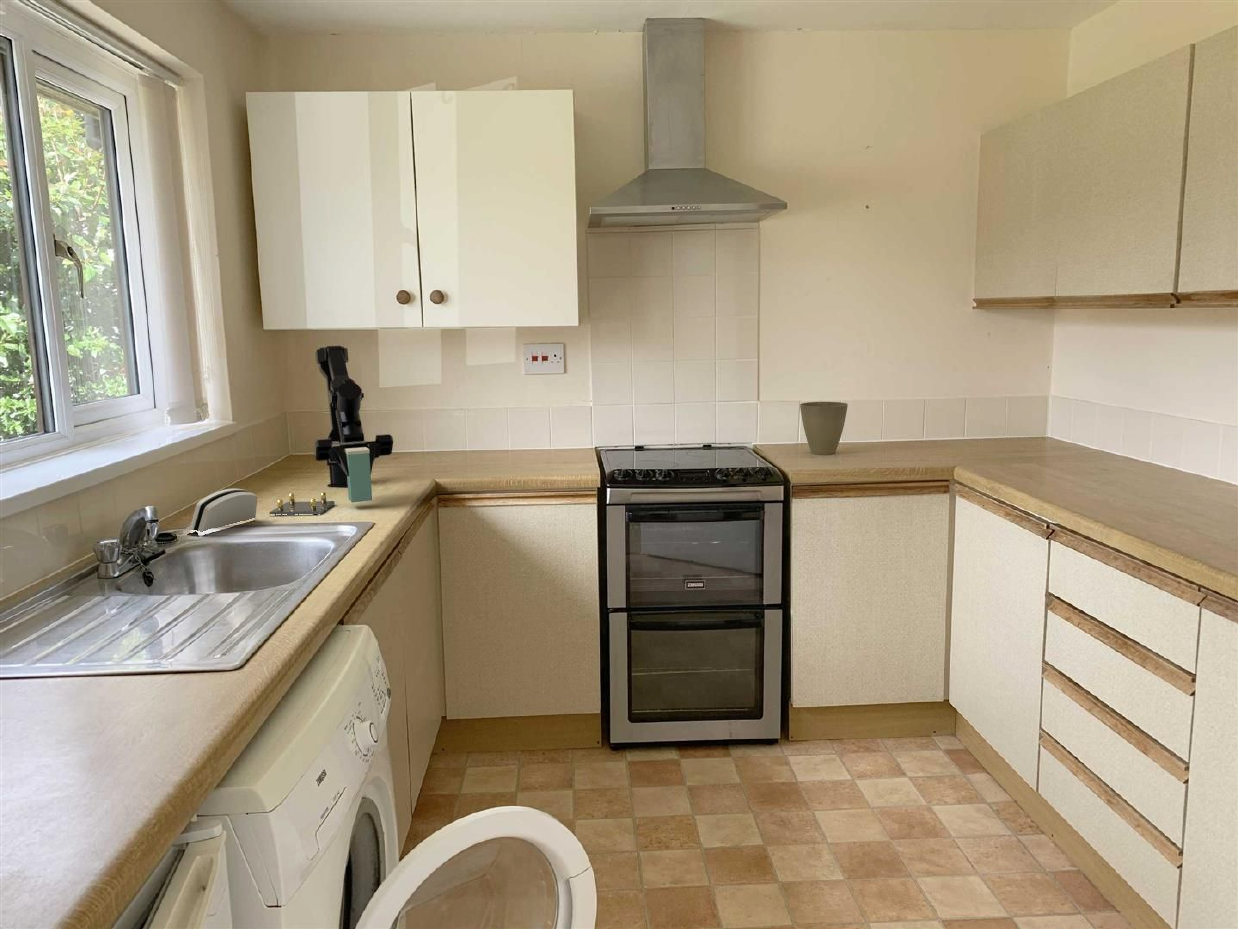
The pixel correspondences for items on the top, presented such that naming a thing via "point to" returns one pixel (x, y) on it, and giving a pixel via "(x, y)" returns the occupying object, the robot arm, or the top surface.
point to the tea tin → (359, 474)
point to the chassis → (302, 506)
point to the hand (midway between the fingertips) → (359, 474)
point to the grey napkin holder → (223, 509)
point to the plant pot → (823, 425)
